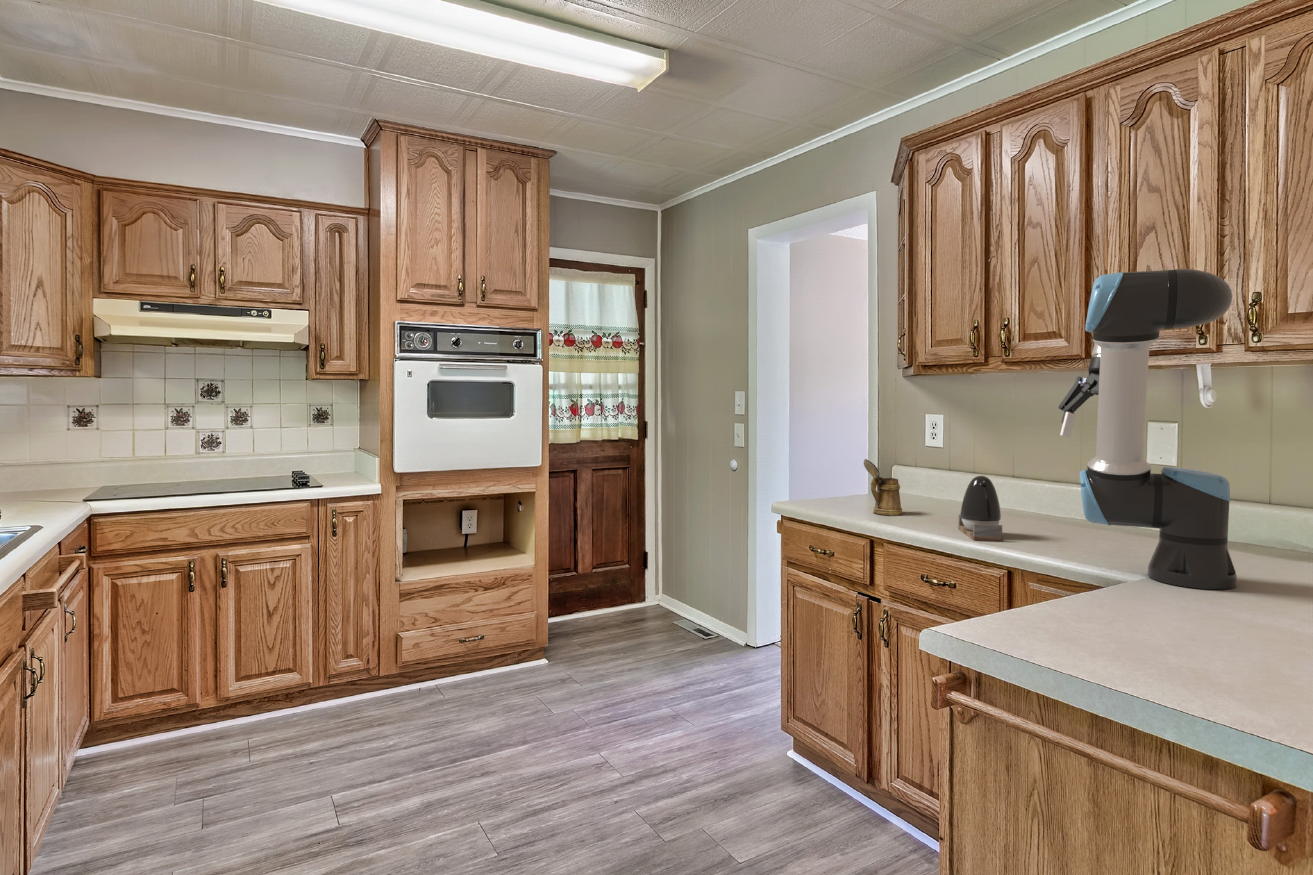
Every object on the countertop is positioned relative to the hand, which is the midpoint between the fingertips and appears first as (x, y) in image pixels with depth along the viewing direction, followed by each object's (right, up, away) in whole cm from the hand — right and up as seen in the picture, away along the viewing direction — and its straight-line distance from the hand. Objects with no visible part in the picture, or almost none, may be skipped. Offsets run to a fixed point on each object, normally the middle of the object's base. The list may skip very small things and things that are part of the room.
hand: (1087, 438), depth 194 cm
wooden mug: (-39, -25, +47) cm, 66 cm away
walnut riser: (-23, -27, +12) cm, 37 cm away
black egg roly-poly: (-23, -26, +12) cm, 36 cm away
